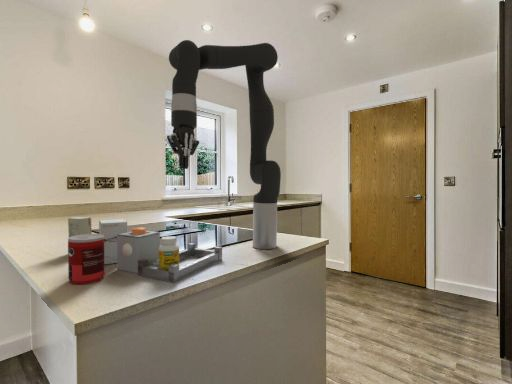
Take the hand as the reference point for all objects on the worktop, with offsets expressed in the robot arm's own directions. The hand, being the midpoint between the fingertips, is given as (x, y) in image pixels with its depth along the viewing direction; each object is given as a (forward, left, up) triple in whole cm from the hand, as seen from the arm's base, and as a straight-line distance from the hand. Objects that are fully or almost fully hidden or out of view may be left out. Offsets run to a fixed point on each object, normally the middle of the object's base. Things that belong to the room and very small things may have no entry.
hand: (183, 168), depth 86 cm
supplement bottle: (+10, +3, -29) cm, 31 cm away
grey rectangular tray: (+4, +3, -29) cm, 29 cm away
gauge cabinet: (+10, -8, -29) cm, 32 cm away
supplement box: (+9, -20, -29) cm, 37 cm away
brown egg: (+10, -8, -24) cm, 27 cm away
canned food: (+23, -12, -29) cm, 39 cm away
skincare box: (+8, -37, -29) cm, 48 cm away
